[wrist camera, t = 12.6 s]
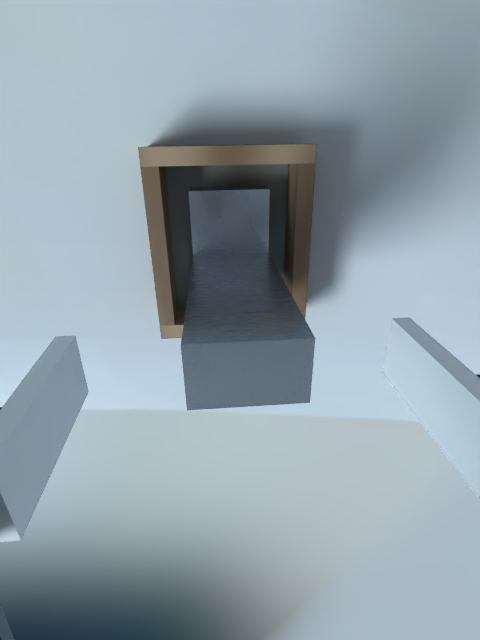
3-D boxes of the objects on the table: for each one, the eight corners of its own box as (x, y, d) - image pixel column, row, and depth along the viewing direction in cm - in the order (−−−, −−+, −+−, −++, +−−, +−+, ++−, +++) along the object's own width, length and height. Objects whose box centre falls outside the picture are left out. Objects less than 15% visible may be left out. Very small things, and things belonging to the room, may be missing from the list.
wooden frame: (166, 317, 29) (161, 338, 26) (147, 146, 24) (138, 147, 20) (294, 311, 29) (304, 331, 26) (302, 143, 24) (316, 144, 21)
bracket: (263, 284, 28) (309, 402, 15) (196, 287, 27) (187, 410, 15) (265, 185, 25) (323, 231, 12) (189, 187, 24) (170, 236, 12)
